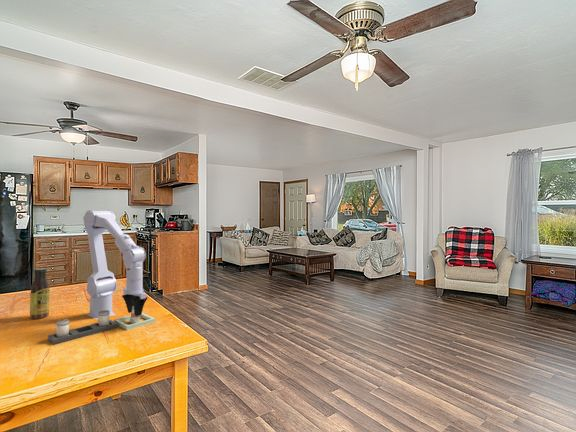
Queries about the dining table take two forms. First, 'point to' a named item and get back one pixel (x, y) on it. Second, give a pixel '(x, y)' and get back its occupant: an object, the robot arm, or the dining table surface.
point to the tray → (131, 326)
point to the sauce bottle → (39, 295)
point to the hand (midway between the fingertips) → (134, 313)
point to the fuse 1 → (62, 328)
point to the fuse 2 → (103, 318)
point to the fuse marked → (134, 317)
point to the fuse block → (82, 332)
